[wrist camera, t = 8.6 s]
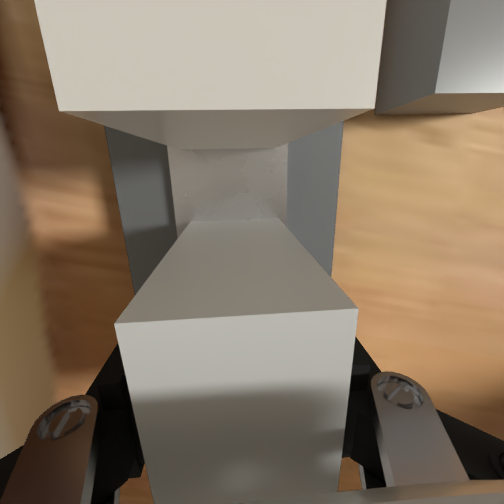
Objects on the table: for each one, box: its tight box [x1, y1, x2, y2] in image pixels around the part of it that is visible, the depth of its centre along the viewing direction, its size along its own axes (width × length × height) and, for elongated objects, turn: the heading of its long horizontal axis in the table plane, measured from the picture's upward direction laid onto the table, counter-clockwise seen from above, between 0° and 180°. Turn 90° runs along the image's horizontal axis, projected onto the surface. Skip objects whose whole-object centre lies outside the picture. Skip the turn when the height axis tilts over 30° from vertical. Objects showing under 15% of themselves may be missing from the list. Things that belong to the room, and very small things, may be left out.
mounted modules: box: [34, 0, 387, 150], centre depth 9 cm, size 4×30×8 cm, turn 1°
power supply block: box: [375, 0, 504, 115], centre depth 10 cm, size 5×5×4 cm
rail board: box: [104, 121, 344, 295], centre depth 14 cm, size 10×34×1 cm, turn 1°
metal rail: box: [167, 143, 288, 238], centre depth 13 cm, size 5×31×1 cm, turn 1°
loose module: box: [114, 218, 359, 504], centre depth 9 cm, size 4×8×8 cm, turn 2°
